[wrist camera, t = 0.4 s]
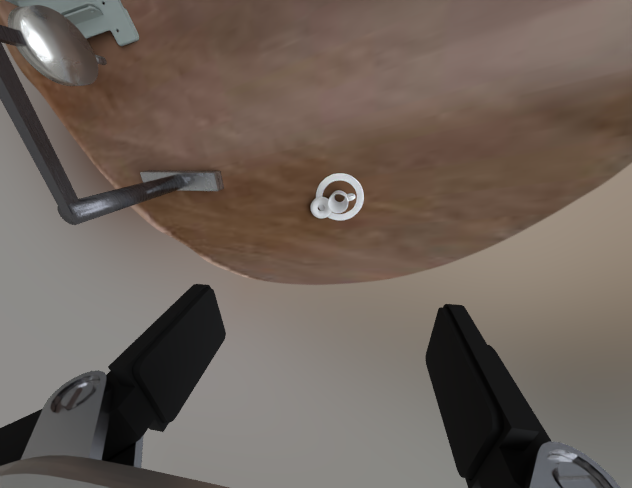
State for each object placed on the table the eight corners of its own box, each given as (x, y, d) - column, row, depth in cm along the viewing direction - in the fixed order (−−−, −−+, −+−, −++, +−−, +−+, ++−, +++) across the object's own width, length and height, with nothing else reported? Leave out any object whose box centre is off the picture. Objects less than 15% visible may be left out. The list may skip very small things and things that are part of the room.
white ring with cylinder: (312, 218, 41) (307, 226, 38) (311, 172, 38) (306, 177, 34) (361, 220, 40) (362, 229, 36) (365, 172, 36) (366, 177, 33)
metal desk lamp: (110, 53, 34) (-133, -21, 17) (195, 46, 32) (15, -46, 15) (154, 187, 43) (23, 224, 26) (223, 188, 41) (130, 230, 24)
